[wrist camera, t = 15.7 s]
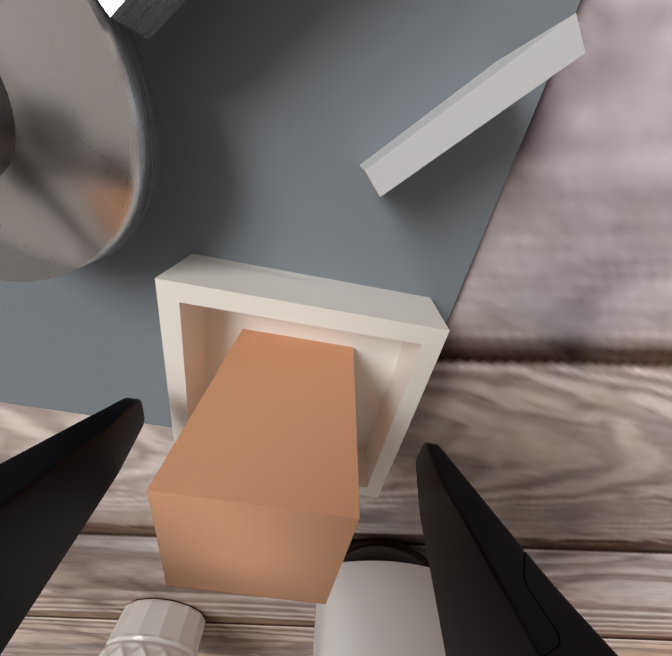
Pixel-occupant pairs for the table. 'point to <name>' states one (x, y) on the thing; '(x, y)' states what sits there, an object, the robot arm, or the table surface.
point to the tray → (306, 323)
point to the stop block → (264, 474)
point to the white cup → (156, 630)
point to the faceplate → (297, 169)
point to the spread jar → (380, 604)
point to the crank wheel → (74, 131)
